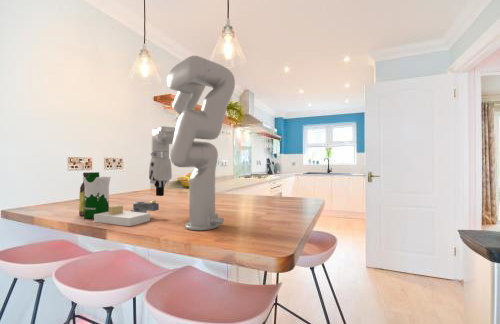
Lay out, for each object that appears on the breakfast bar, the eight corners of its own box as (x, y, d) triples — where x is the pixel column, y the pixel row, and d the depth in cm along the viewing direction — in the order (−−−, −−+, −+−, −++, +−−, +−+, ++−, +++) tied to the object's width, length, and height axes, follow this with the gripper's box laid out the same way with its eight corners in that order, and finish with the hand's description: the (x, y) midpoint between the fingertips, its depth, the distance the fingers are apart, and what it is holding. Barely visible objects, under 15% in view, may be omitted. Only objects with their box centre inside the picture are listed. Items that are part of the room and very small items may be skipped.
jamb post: (146, 216, 109) (146, 209, 109) (139, 218, 105) (139, 210, 106) (138, 215, 111) (138, 208, 111) (130, 217, 107) (130, 210, 107)
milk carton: (80, 218, 105) (80, 172, 106) (95, 214, 114) (95, 172, 115) (99, 219, 104) (99, 172, 105) (113, 214, 113) (113, 172, 114)
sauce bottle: (83, 216, 111) (84, 172, 111) (75, 215, 114) (75, 172, 114) (98, 213, 117) (98, 172, 117) (90, 212, 119) (90, 172, 120)
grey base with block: (149, 220, 101) (149, 206, 101) (129, 226, 92) (129, 210, 92) (115, 216, 109) (115, 203, 109) (94, 221, 100) (94, 207, 100)
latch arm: (131, 209, 107) (131, 200, 107) (139, 208, 111) (139, 199, 111) (152, 211, 102) (152, 201, 102) (159, 209, 106) (159, 200, 106)
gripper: (154, 155, 103) (153, 198, 103) (177, 156, 117) (177, 194, 117) (141, 155, 106) (140, 197, 106) (165, 156, 120) (165, 193, 120)
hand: (159, 195), depth 112 cm, fingers closed
